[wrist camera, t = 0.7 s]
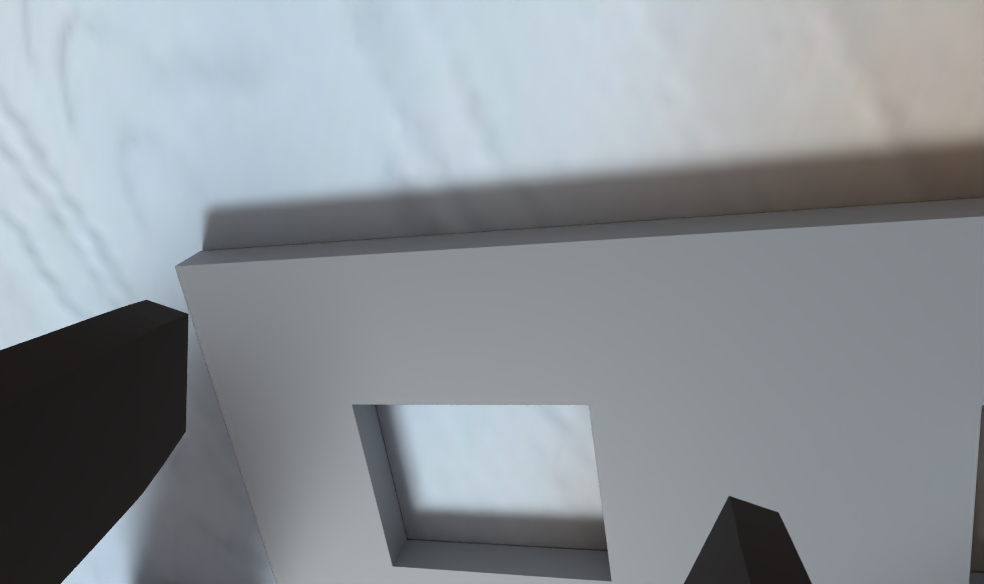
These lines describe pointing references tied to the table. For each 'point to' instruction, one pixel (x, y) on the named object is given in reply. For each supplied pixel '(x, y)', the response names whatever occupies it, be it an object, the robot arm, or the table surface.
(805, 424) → the panel
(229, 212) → the table surface
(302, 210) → the table surface
